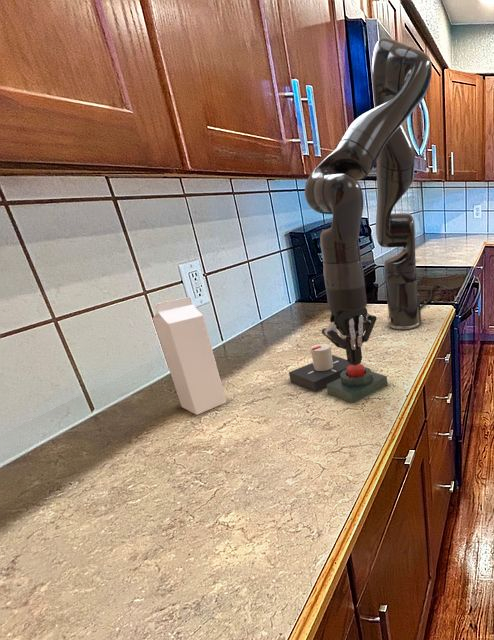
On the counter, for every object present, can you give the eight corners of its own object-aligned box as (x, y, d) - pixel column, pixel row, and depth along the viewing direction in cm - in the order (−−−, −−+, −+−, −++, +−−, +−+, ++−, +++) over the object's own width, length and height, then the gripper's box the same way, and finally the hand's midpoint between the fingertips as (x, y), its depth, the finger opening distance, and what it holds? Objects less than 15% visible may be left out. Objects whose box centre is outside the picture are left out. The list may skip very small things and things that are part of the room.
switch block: (362, 376, 98) (360, 360, 96) (387, 385, 94) (386, 369, 92) (327, 393, 90) (324, 376, 89) (353, 403, 86) (350, 386, 85)
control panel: (333, 364, 105) (332, 354, 103) (358, 372, 100) (357, 362, 99) (290, 382, 95) (288, 371, 94) (316, 392, 91) (314, 381, 90)
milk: (227, 402, 87) (199, 298, 78) (196, 415, 82) (163, 306, 73) (211, 395, 90) (182, 294, 81) (180, 407, 85) (146, 301, 76)
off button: (357, 369, 93) (356, 362, 92) (368, 373, 91) (367, 366, 91) (344, 375, 90) (343, 368, 90) (355, 379, 89) (354, 372, 88)
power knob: (326, 362, 99) (323, 341, 97) (337, 366, 97) (334, 345, 95) (310, 367, 96) (306, 346, 94) (321, 372, 94) (317, 350, 92)
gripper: (330, 293, 76) (342, 379, 83) (383, 279, 86) (390, 357, 93) (304, 287, 80) (318, 370, 86) (357, 275, 90) (366, 350, 97)
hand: (355, 363), depth 90 cm, fingers closed
